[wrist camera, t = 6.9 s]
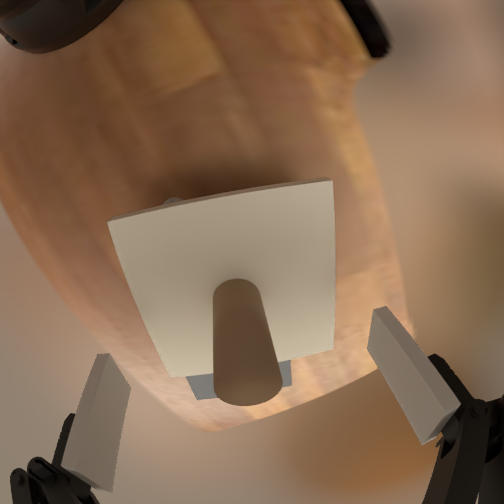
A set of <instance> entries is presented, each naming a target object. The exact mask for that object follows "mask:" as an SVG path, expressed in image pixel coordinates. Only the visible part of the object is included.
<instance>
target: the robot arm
mask: <svg viewBox="0 0 504 504" xmlns="http://www.w3.org/2000/svg"><path fill="white" fill-rule="evenodd" d="M121 1H122V0H0V33H1V35H3V36H4V37H5V39H6V40H7V41H8V43H9V44H11V45H12V46H13V47H15V48H17V49H20V50H24V51H27V52H31V53H45V52H49V51H53V50H56V49H59V48H61V47H63V46H66V45H68V44H70V43H72V42H73V41H75V40H77V39H78V38H80V37H82V36H83V35H85V34H86V33H88V32H89V31H90V30H92V29H93V28H94V27H95V26H97V25H98V24H99V23H100V22H102V21H103V20H104V19H105V18H106V17H107V16H108V15H109V14H110V13H111V12H112V11H113V10H114V9H115V8H116V7H117V6H118V5H119V4H120V2H121ZM367 350H368V351H369V353H370V355H371V356H372V358H373V360H374V361H375V363H376V365H377V366H378V368H379V369H380V371H381V373H382V375H383V376H384V378H385V380H386V381H387V383H388V385H389V387H390V388H391V390H392V392H393V394H394V395H395V397H396V399H397V401H398V402H399V404H400V406H401V408H402V410H403V411H404V413H405V415H406V417H407V419H408V420H409V422H410V424H411V426H412V428H413V430H414V431H415V433H416V435H417V437H418V439H419V441H420V443H421V445H423V444H425V443H427V442H428V441H431V440H432V439H434V438H436V437H437V435H438V434H439V433H440V432H442V434H443V437H442V438H441V439H440V440H439V441H438V442H437V444H436V446H435V447H438V446H439V445H440V449H439V452H438V456H437V460H436V463H435V467H434V470H433V474H432V477H431V480H430V483H429V486H428V489H427V492H426V494H425V498H424V500H423V502H422V504H475V503H476V499H477V495H478V492H479V498H478V504H504V395H503V396H502V397H501V398H499V399H495V400H492V401H489V402H485V401H484V400H480V399H474V398H473V397H472V396H471V394H470V393H469V392H468V390H467V389H466V388H465V386H464V385H463V384H462V382H461V381H460V379H459V378H458V377H457V376H456V375H455V373H454V372H453V370H452V369H450V366H449V365H448V364H447V363H446V361H445V360H444V359H443V358H441V357H440V356H438V355H437V354H433V355H430V356H428V357H427V356H426V355H425V354H424V352H423V351H422V350H421V348H420V347H419V346H418V344H417V343H416V342H415V341H414V339H413V338H412V337H411V336H410V334H409V333H408V332H407V331H406V329H405V328H404V327H403V326H402V324H401V323H400V322H399V321H398V319H397V318H396V317H395V316H394V315H393V313H392V312H391V311H390V310H389V309H388V307H387V306H384V307H381V308H377V309H373V315H372V322H371V328H370V334H369V340H368V346H367ZM130 391H131V387H130V385H129V384H128V382H127V381H126V379H125V378H124V376H123V374H122V373H121V371H120V370H119V368H118V366H117V365H116V363H115V361H114V360H113V358H112V356H111V355H110V353H108V354H97V357H96V359H95V362H94V365H93V367H92V370H91V372H90V375H89V377H88V380H87V383H86V385H85V388H84V391H83V394H82V397H81V399H80V403H79V405H78V408H77V411H76V414H73V413H70V414H69V416H68V417H67V418H66V420H65V421H64V424H63V427H62V432H61V433H60V439H59V440H58V443H57V447H56V450H55V454H54V458H53V461H52V464H50V463H49V462H47V461H46V460H45V459H43V458H42V457H35V458H33V459H31V460H30V462H29V463H28V466H27V472H26V471H25V470H23V469H21V468H17V469H15V470H13V472H12V473H11V476H10V484H11V492H12V499H13V504H100V503H99V502H98V500H97V499H96V497H95V495H94V494H93V493H92V492H91V491H90V490H91V487H93V488H95V489H96V490H98V491H103V492H108V493H112V492H113V484H114V476H115V469H116V463H117V456H118V450H119V444H120V439H121V433H122V428H123V422H124V418H125V413H126V408H127V404H128V399H129V395H130Z"/></svg>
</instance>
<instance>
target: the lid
mask: <svg viewBox="0 0 504 504" xmlns="http://www.w3.org/2000/svg"><path fill="white" fill-rule="evenodd" d="M107 224H108V227H109V230H110V234H111V237H112V240H113V243H114V246H115V249H116V252H117V255H118V258H119V261H120V264H121V266H122V269H123V272H124V275H125V277H126V280H127V283H128V285H129V288H130V290H131V293H132V295H133V298H134V300H135V303H136V305H137V308H138V310H139V312H140V315H141V317H142V319H143V322H144V324H145V326H146V328H147V331H148V333H149V335H150V337H151V339H152V341H153V343H154V346H155V348H156V350H157V352H158V354H159V356H160V358H161V360H162V362H163V364H164V366H165V368H166V370H167V372H168V374H169V376H170V377H171V378H175V377H185V376H194V375H203V374H211V373H213V385H214V392H215V394H216V396H217V397H218V398H219V399H221V400H222V401H224V402H226V403H229V404H232V405H237V406H251V405H257V404H260V403H263V402H266V401H268V400H270V399H272V398H273V397H274V396H276V395H277V394H278V393H279V391H280V390H281V388H282V385H283V380H282V376H281V372H280V368H279V364H278V362H282V361H286V360H291V359H296V358H300V357H304V356H309V355H313V354H317V353H321V352H325V351H329V350H332V349H333V345H334V326H335V293H336V247H335V215H334V195H333V180H331V179H329V178H326V177H325V178H317V179H309V180H301V181H294V182H287V183H280V184H273V185H267V186H260V187H254V188H248V189H242V190H236V191H230V192H225V193H219V194H214V195H208V196H203V197H198V198H193V199H188V200H183V201H178V202H174V203H169V204H164V205H160V206H155V207H151V208H147V209H142V210H138V211H134V212H130V213H126V214H122V215H118V216H114V217H112V218H111V219H110V220H108V221H107Z"/></svg>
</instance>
